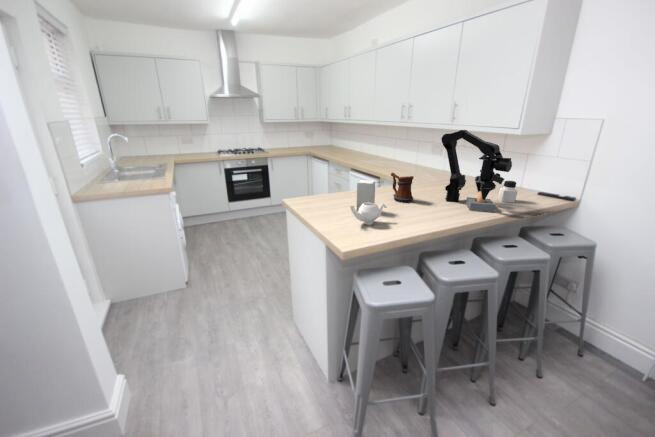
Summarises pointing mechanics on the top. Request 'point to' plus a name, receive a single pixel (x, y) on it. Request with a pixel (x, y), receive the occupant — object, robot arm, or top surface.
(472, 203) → the socket block
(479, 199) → the peg
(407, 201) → the mug
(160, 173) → the top surface
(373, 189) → the skincare box
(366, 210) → the teapot
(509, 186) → the medicine bottle
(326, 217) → the top surface
